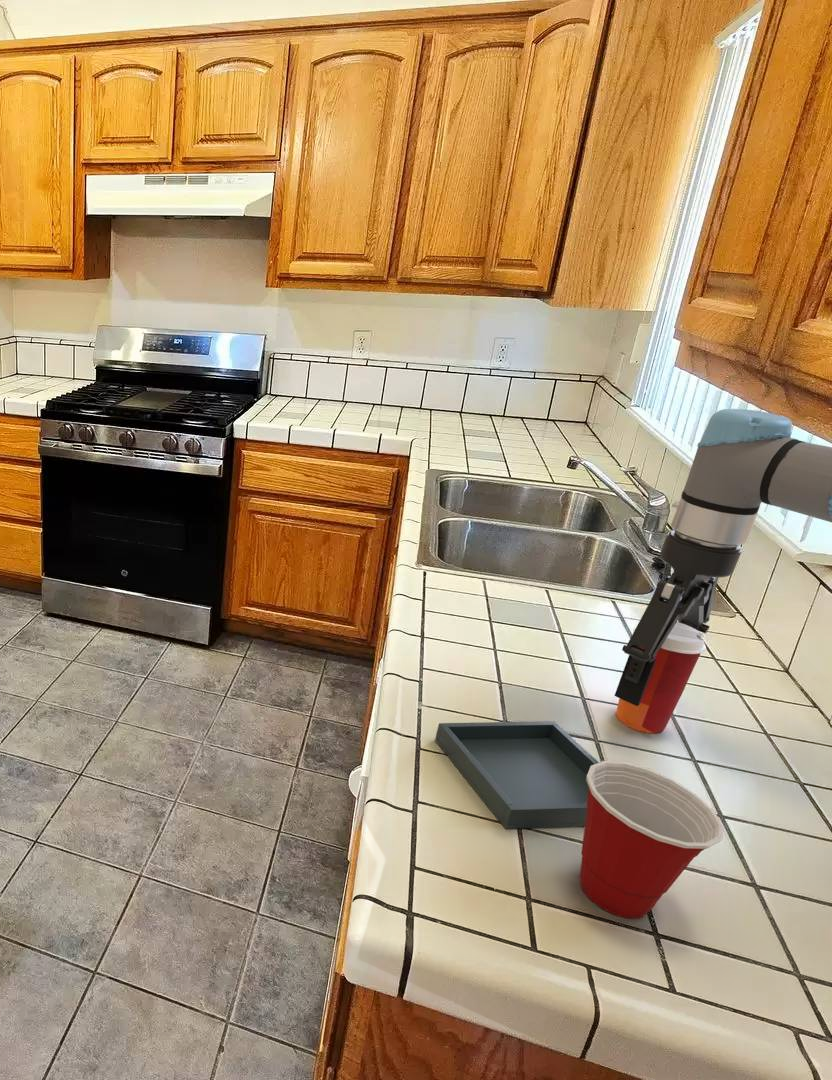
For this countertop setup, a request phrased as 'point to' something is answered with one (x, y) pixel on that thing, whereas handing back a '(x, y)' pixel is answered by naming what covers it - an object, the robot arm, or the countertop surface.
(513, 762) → the tray
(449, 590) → the countertop surface
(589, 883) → the plastic cup
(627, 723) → the paper cup
